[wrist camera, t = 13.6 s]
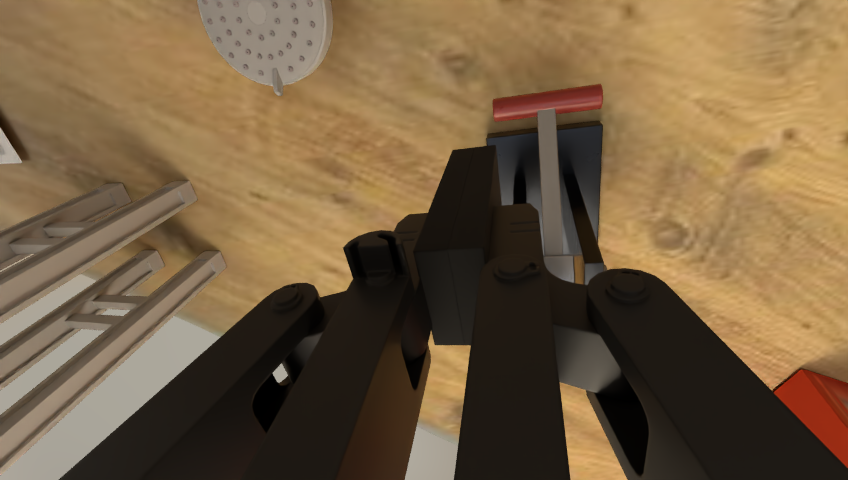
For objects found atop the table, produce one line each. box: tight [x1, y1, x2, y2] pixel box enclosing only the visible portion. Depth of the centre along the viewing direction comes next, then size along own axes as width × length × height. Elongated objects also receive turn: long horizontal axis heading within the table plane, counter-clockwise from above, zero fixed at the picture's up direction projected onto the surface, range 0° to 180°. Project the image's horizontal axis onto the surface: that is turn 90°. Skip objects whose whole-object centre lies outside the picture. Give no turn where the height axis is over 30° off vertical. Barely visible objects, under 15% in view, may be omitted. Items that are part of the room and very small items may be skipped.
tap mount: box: [486, 121, 607, 285], centre depth 30 cm, size 12×9×15 cm
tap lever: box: [493, 84, 603, 283], centre depth 25 cm, size 13×6×2 cm, turn 11°
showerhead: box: [197, 0, 333, 96], centre depth 29 cm, size 9×7×10 cm
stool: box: [0, 181, 227, 475], centre depth 33 cm, size 16×16×35 cm
